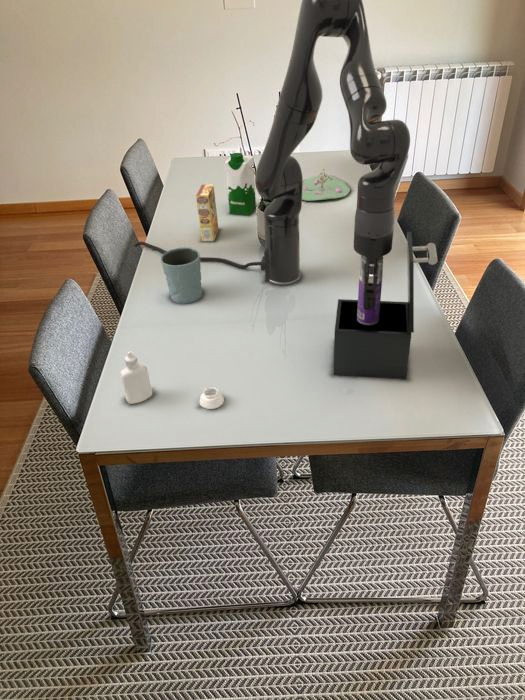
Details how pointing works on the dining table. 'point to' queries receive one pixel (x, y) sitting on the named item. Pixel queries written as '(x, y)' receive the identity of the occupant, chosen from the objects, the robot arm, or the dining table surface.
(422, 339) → the dining table surface
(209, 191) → the candy box
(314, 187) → the plant
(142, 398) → the eye dropper bottle
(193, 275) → the grey-green cup
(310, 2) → the robot arm
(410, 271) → the bin lid
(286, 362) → the dining table surface
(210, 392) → the lidless jar
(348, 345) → the bin
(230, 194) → the milk carton
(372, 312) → the container
